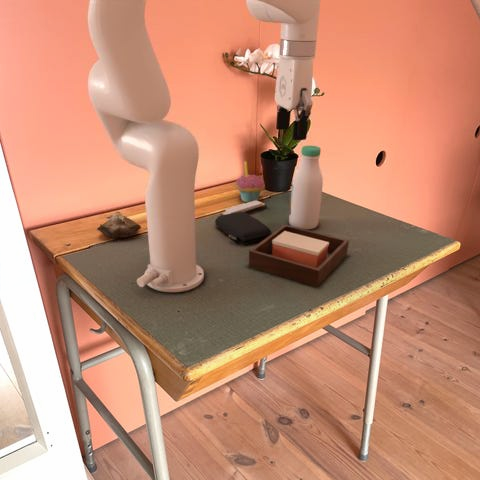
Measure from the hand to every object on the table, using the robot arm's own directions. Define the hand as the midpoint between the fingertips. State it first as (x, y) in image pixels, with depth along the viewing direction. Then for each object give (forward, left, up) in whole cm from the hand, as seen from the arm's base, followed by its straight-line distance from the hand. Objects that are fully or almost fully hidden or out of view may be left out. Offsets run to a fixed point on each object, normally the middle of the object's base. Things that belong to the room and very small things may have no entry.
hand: (290, 134), depth 114 cm
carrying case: (-7, +9, -24) cm, 27 cm away
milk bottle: (+7, -2, -24) cm, 26 cm away
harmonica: (+5, +15, -24) cm, 29 cm away
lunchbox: (-13, -10, -24) cm, 29 cm away
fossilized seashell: (-25, +33, -24) cm, 48 cm away
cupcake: (+15, +19, -24) cm, 34 cm away
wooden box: (-13, -10, -24) cm, 29 cm away
